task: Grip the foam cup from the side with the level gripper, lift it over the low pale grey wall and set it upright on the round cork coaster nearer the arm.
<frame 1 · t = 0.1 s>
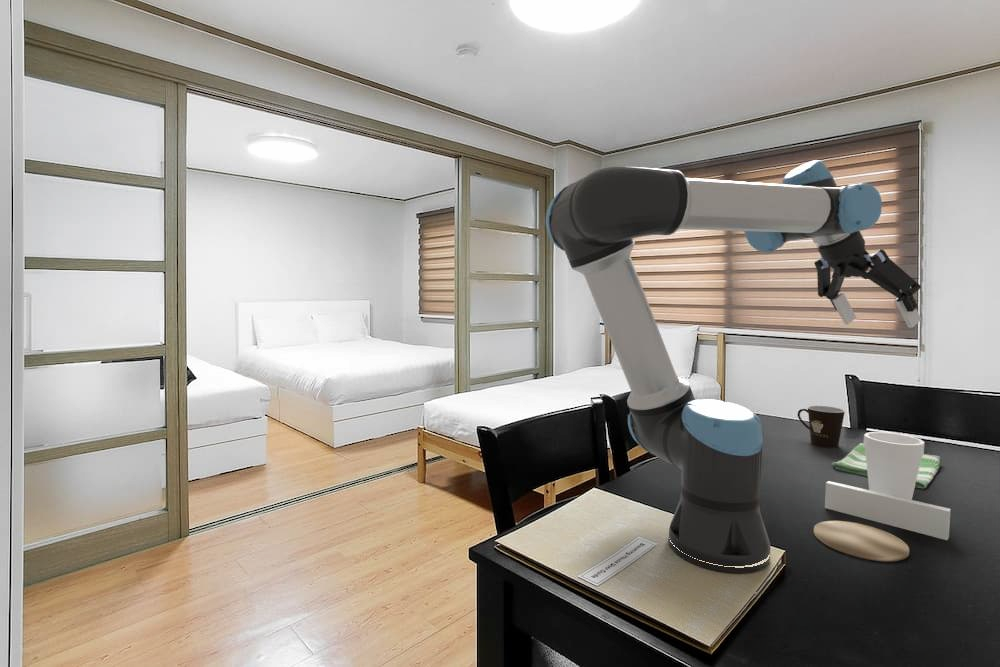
hand: (880, 322, 104), 36 cm above the table, tool tilted 35°, fingers open, 13 cm apart
low wall: (882, 521, 92), on the table
coffee mug: (821, 443, 142), on the table
cork coaster: (859, 541, 85), on the table
foam cup: (889, 503, 101), on the table
dish towel: (887, 469, 123), on the table
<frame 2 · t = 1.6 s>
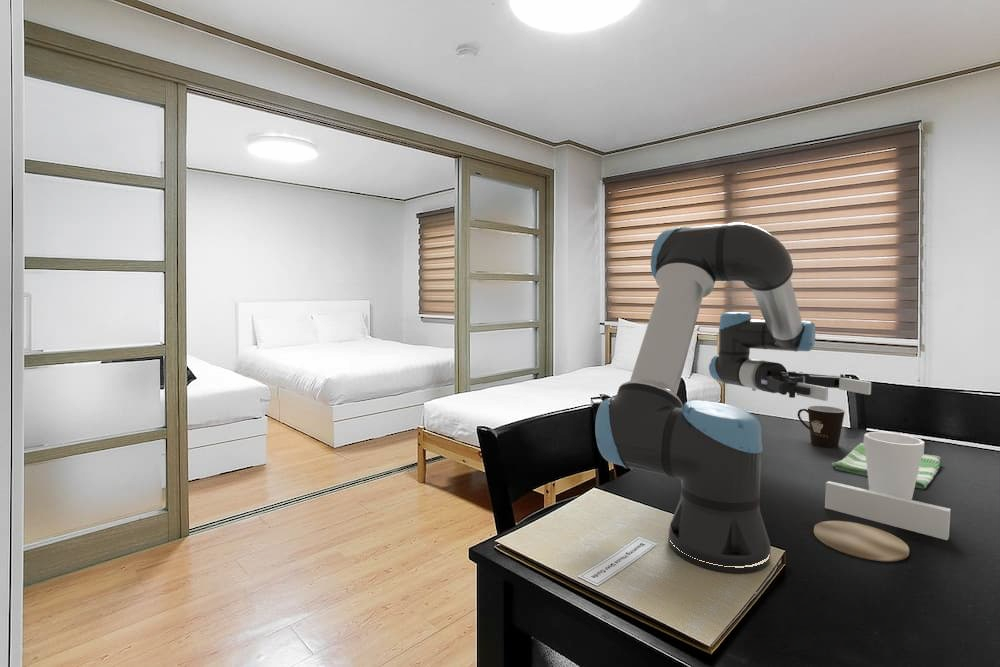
hand: (849, 391, 108), 21 cm above the table, tool horizontal, fingers open, 13 cm apart
nothing on the table moved.
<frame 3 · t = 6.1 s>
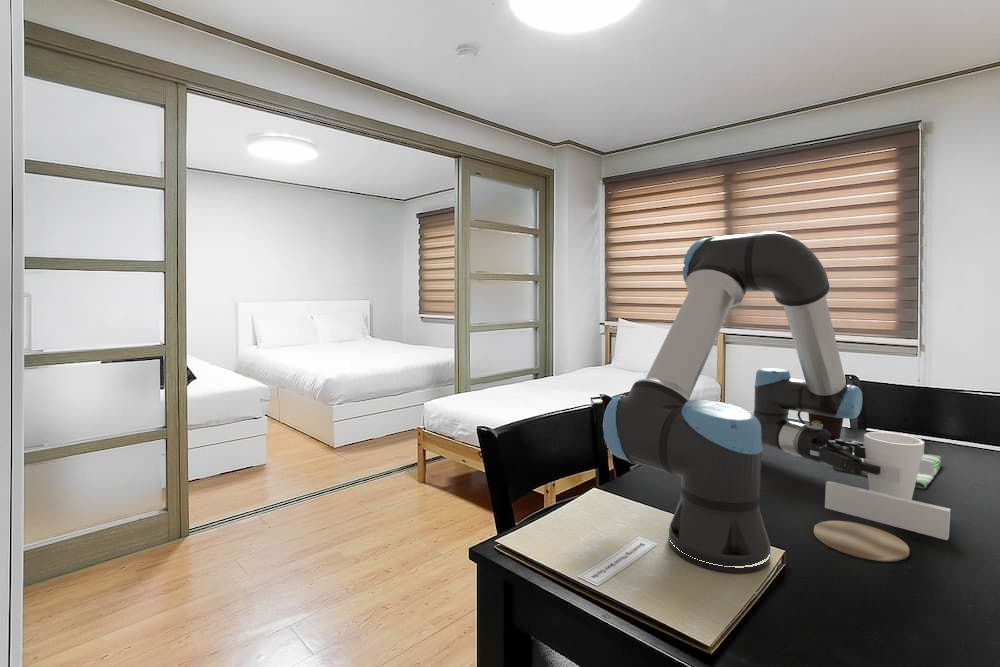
hand: (917, 472, 97), 8 cm above the table, tool horizontal, fingers closed on foam cup, 9 cm apart
foam cup: (889, 503, 101), on the table, touching gripper
everything else where it was.
when the fingers open (10 cm above the table, at t = 11.2 s): foam cup drops 1 cm, resting on cork coaster.
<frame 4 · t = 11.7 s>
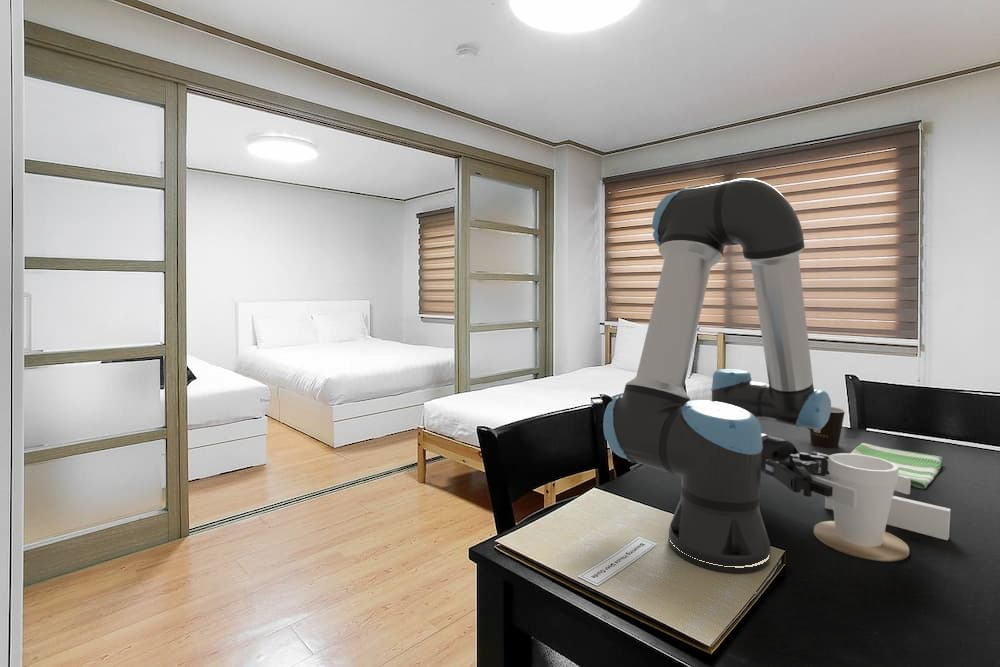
hand: (883, 492, 81), 10 cm above the table, tool horizontal, fingers open, 13 cm apart
foam cup: (858, 538, 85), resting on cork coaster
everything else where it was.
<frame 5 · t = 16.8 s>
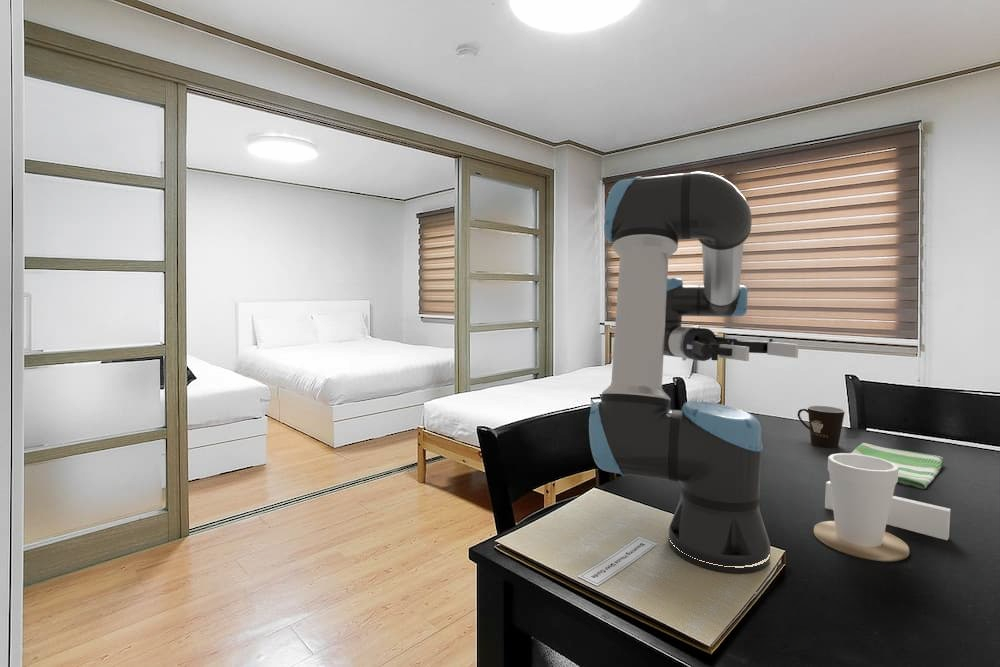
hand: (773, 352, 100), 30 cm above the table, tool horizontal, fingers open, 13 cm apart
nothing on the table moved.
at the end: foam cup 0.1 cm off-centre on the cork coaster, point 0.4 cm above the cork coaster's base; foam cup tilted 0°; the gripper is holding nothing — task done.
